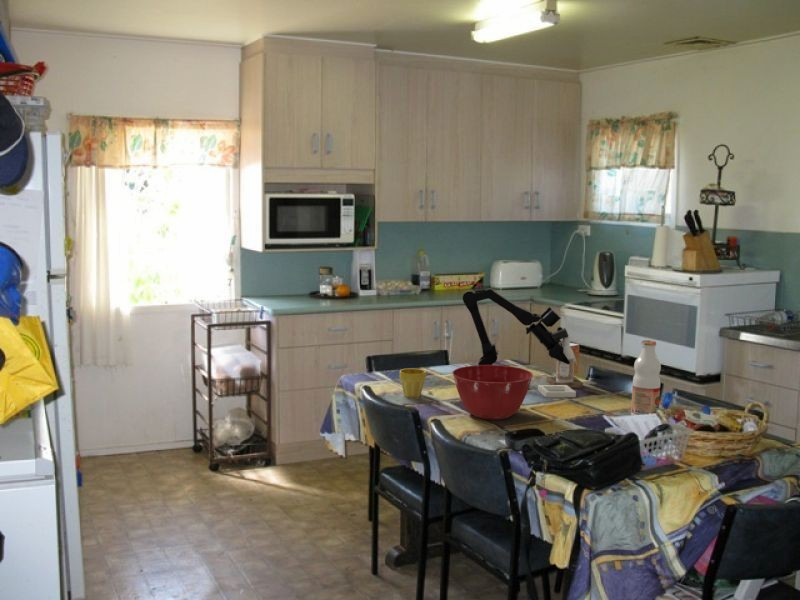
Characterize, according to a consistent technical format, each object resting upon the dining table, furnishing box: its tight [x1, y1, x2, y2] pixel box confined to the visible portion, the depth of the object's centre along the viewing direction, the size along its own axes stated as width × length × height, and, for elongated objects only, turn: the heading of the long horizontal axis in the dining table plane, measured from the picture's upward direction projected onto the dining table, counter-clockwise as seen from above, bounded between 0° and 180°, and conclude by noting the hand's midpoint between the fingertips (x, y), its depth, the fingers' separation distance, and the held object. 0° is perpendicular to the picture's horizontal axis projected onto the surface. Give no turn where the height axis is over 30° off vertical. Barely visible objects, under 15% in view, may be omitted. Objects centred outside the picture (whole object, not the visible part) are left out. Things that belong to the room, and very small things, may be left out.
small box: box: [562, 342, 580, 375], centre depth 369 cm, size 8×6×13 cm
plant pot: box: [399, 367, 427, 399], centre depth 323 cm, size 10×10×10 cm
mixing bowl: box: [452, 364, 534, 421], centre depth 296 cm, size 28×28×15 cm
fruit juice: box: [630, 339, 662, 416], centre depth 294 cm, size 9×9×28 cm
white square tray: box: [537, 384, 577, 398], centre depth 331 cm, size 12×12×2 cm
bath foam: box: [555, 336, 574, 382], centre depth 346 cm, size 7×7×20 cm
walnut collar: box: [546, 375, 584, 389], centre depth 347 cm, size 12×12×2 cm
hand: (568, 361), depth 346 cm, fingers closed on bath foam, 7 cm apart
